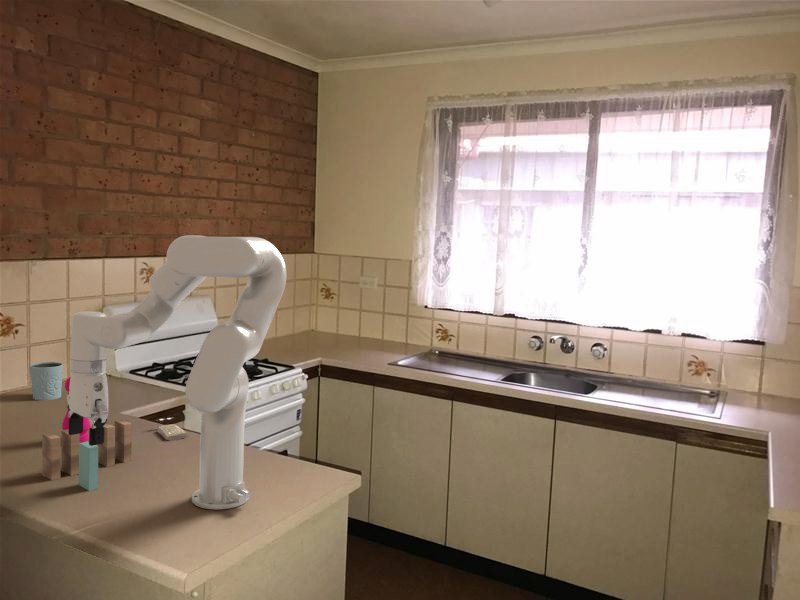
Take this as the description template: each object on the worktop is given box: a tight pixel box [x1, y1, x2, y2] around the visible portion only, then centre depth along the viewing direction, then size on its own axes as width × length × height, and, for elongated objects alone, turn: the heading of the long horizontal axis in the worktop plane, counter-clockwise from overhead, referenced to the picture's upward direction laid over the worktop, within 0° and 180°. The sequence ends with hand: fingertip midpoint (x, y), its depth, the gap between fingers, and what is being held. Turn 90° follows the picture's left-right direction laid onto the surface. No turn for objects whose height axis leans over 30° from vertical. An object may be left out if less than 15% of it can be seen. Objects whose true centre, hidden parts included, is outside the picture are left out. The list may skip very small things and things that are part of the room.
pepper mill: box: [61, 376, 92, 443], centre depth 187 cm, size 7×7×20 cm
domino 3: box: [78, 440, 99, 492], centre depth 155 cm, size 5×2×10 cm, turn 51°
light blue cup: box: [29, 361, 64, 401], centre depth 230 cm, size 10×10×12 cm
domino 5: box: [113, 419, 133, 463], centre depth 174 cm, size 5×2×10 cm, turn 51°
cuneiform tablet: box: [154, 416, 188, 442], centre depth 196 cm, size 6×4×12 cm
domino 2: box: [60, 429, 80, 477], centre depth 163 cm, size 5×2×10 cm, turn 51°
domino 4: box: [96, 422, 116, 468], centre depth 170 cm, size 5×2×10 cm, turn 51°
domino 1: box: [41, 432, 62, 481], centre depth 160 cm, size 5×2×10 cm, turn 51°
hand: (85, 438), depth 154 cm, fingers open, 9 cm apart
